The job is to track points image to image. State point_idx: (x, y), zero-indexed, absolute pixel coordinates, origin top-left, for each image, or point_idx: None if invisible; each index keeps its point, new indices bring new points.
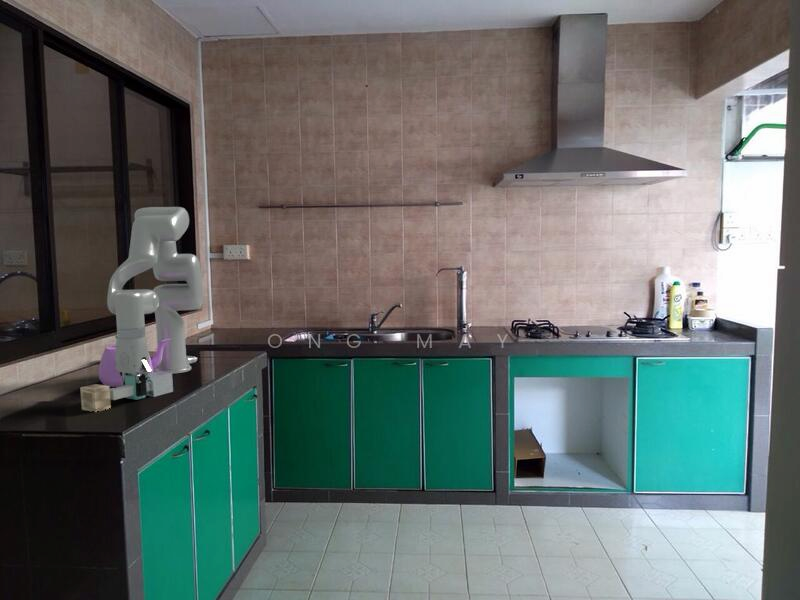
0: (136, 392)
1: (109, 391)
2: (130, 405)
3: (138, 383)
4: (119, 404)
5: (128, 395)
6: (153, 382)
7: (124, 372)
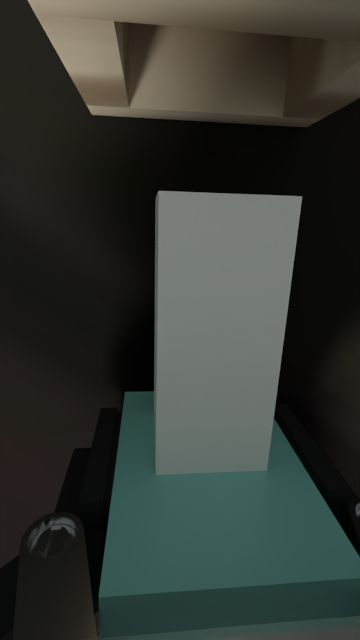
0: (107, 426)
1: (42, 20)
2: (25, 270)
3: (83, 520)
4: (152, 252)
5: (154, 364)
6: (99, 633)
7: (328, 622)
